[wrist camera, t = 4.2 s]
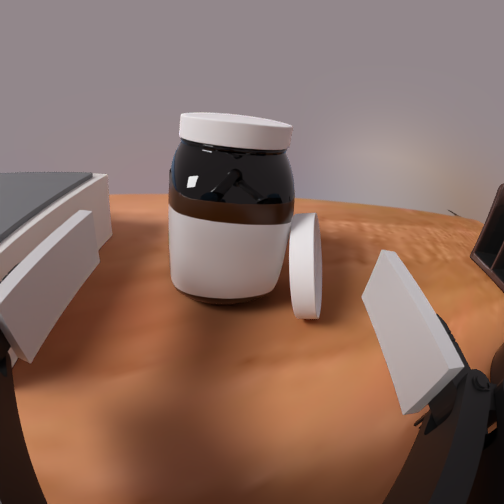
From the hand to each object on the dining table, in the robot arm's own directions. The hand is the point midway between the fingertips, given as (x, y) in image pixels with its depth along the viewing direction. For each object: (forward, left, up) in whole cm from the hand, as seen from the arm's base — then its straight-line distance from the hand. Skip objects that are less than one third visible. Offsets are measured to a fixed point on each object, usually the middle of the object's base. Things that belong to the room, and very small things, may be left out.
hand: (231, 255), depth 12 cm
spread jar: (-1, -7, -7) cm, 10 cm away
